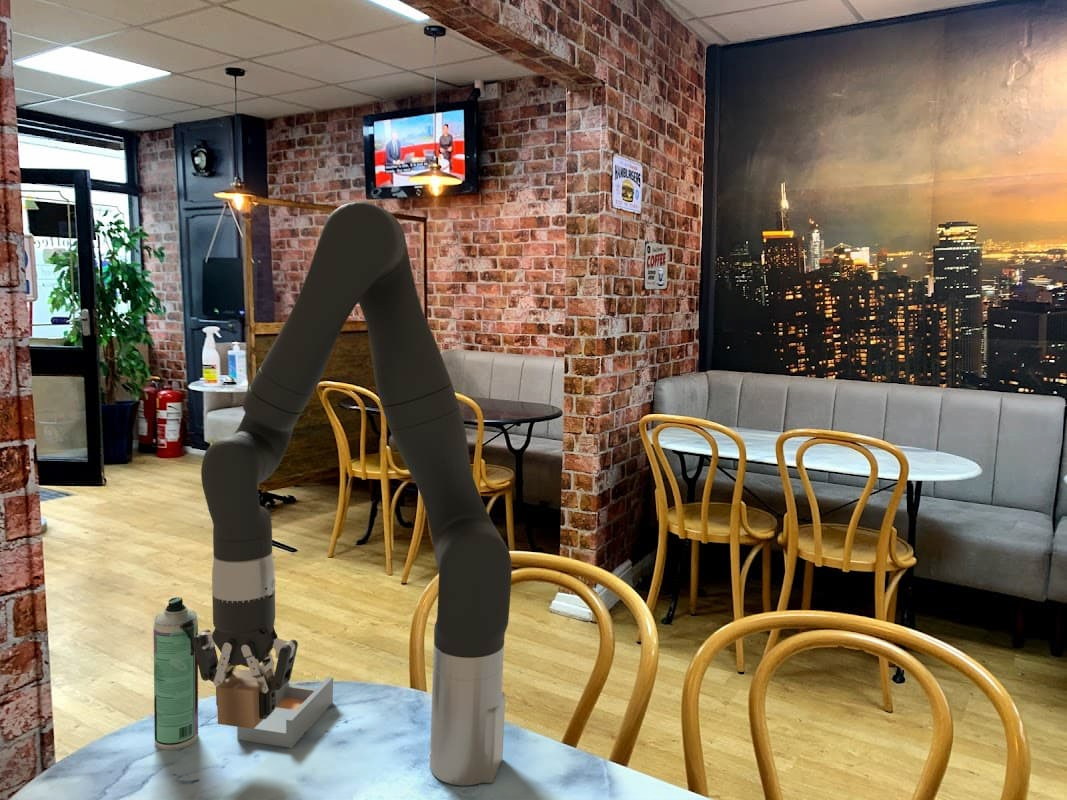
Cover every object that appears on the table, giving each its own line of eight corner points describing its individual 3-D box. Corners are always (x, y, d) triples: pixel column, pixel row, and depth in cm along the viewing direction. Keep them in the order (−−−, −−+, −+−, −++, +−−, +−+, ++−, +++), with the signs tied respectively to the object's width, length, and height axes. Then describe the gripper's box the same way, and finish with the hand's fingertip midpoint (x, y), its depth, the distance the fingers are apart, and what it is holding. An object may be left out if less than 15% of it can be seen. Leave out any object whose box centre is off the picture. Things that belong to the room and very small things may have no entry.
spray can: (205, 730, 111) (205, 593, 108) (184, 751, 105) (184, 608, 103) (168, 726, 111) (167, 590, 109) (146, 747, 106) (144, 605, 103)
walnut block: (273, 673, 104) (252, 691, 99) (273, 709, 104) (253, 728, 99) (238, 669, 105) (216, 686, 100) (239, 704, 105) (217, 723, 100)
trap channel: (332, 702, 120) (333, 677, 120) (291, 748, 107) (291, 720, 107) (283, 695, 121) (284, 670, 121) (237, 739, 109) (237, 712, 108)
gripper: (175, 592, 98) (178, 721, 100) (280, 603, 95) (282, 735, 97) (210, 573, 105) (213, 693, 107) (309, 582, 102) (311, 706, 104)
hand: (246, 712), depth 102 cm, fingers closed on walnut block, 5 cm apart
